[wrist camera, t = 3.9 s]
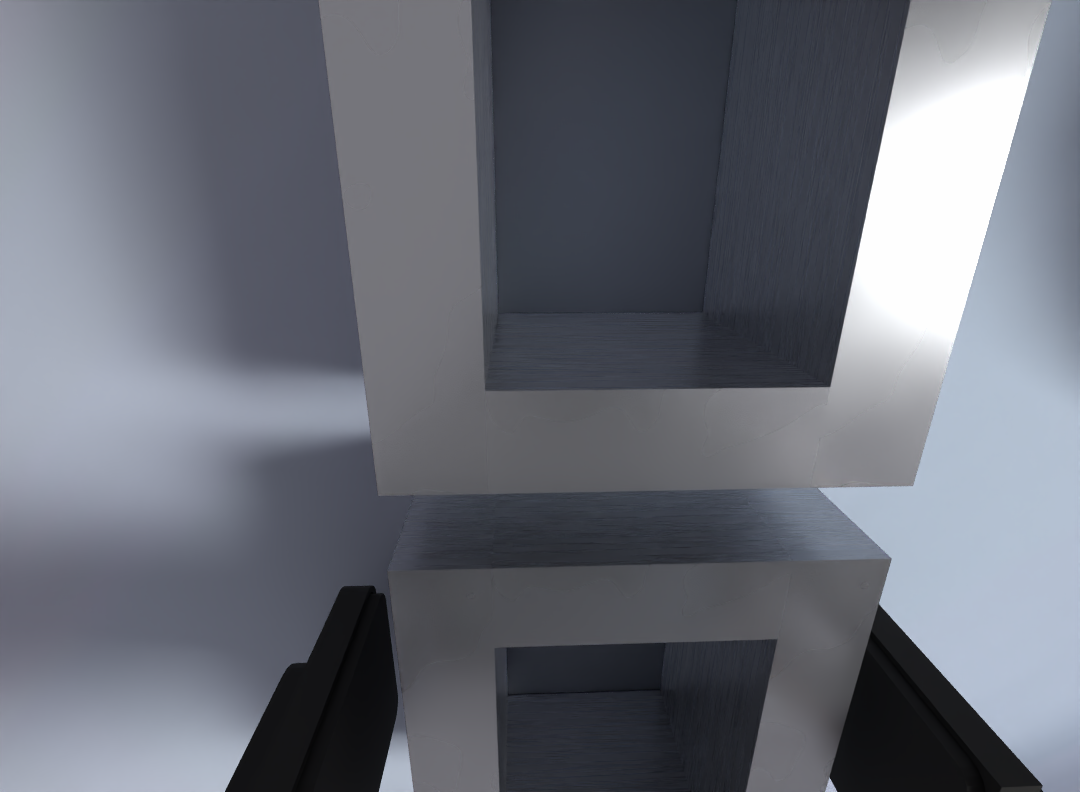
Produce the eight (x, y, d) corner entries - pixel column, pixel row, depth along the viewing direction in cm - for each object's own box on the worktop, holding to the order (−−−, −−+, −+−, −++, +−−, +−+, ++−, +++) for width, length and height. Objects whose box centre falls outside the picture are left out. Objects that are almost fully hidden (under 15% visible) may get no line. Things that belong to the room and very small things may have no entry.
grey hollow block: (390, -215, 7) (227, -754, 3) (849, -199, 7) (1247, -681, 3) (433, 379, 9) (377, 496, 6) (759, 376, 10) (912, 485, 6)
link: (437, 430, 10) (387, 571, 6) (751, 425, 10) (891, 557, 6) (459, 733, 13) (433, 960, 9) (704, 724, 13) (782, 940, 9)
